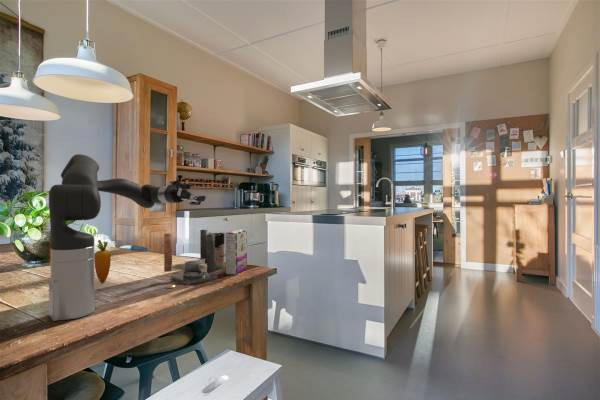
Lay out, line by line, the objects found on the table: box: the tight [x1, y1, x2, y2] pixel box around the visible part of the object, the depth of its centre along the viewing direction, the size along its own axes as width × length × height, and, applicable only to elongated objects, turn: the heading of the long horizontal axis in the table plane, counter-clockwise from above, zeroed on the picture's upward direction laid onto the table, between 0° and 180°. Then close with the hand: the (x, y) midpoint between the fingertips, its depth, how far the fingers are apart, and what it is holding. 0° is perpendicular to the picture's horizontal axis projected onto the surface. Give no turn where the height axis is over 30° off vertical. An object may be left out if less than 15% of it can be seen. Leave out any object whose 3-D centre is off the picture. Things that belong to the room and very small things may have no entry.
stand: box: [165, 270, 218, 289], centre depth 116 cm, size 18×13×3 cm
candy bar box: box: [225, 229, 248, 276], centre depth 129 cm, size 11×5×16 cm, turn 168°
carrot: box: [94, 239, 112, 284], centre depth 110 cm, size 5×5×15 cm
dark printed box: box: [207, 230, 226, 270], centre depth 136 cm, size 7×7×15 cm
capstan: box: [163, 229, 216, 274], centre depth 116 cm, size 18×17×14 cm
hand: (197, 192), depth 128 cm, fingers open, 8 cm apart
